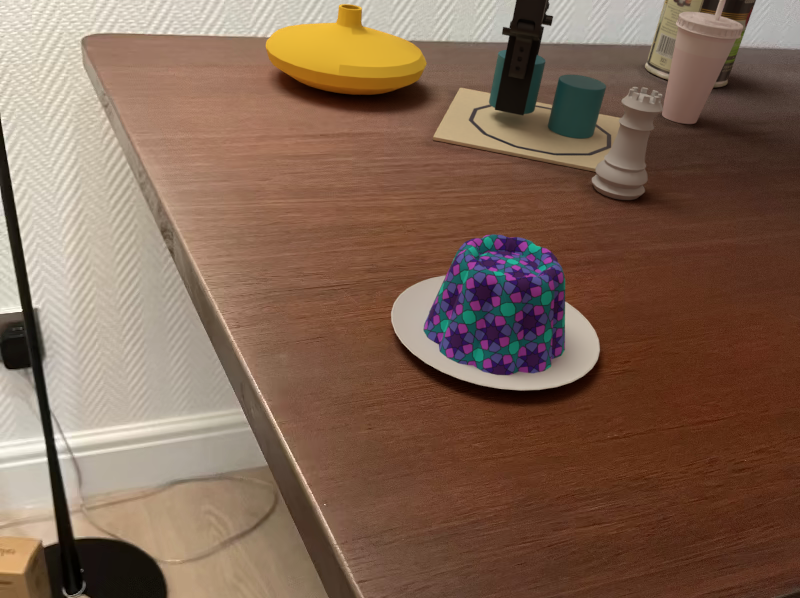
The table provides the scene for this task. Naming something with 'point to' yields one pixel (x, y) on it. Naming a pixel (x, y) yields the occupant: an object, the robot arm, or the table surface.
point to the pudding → (498, 318)
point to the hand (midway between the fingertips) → (512, 103)
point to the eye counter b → (576, 106)
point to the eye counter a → (533, 86)
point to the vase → (345, 55)
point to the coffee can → (663, 43)
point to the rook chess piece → (629, 148)
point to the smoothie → (697, 62)
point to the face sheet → (522, 132)
